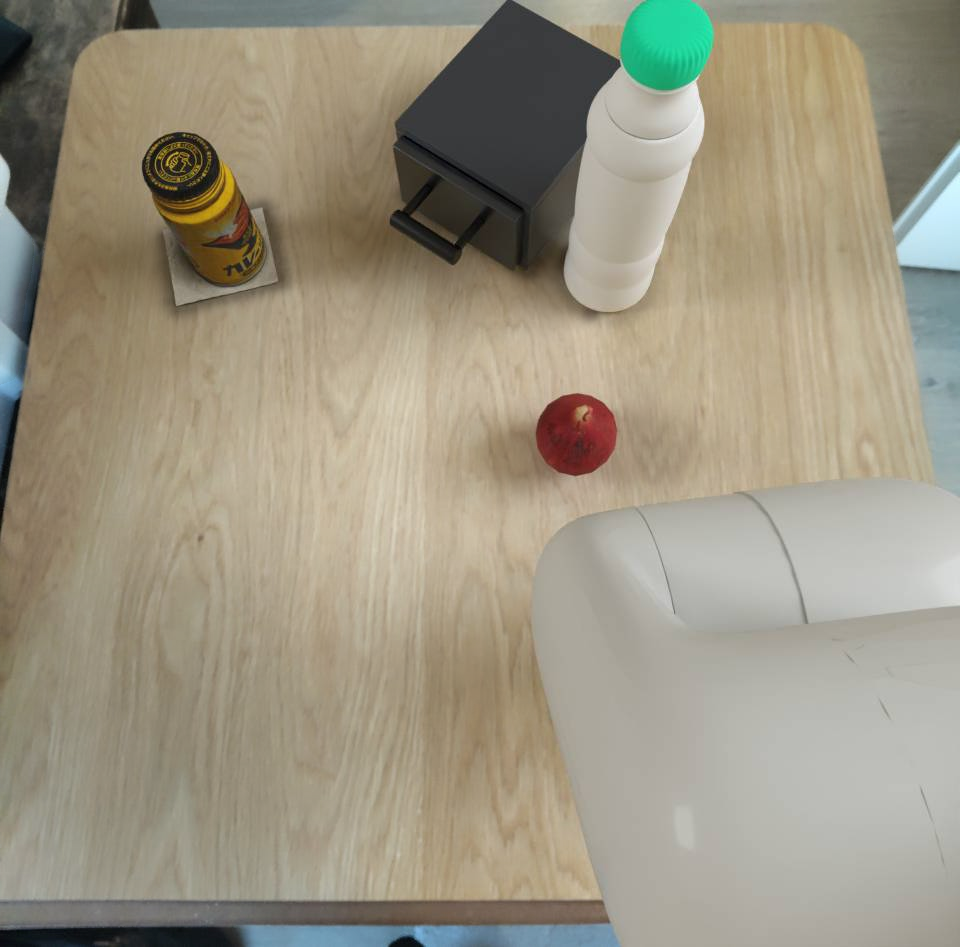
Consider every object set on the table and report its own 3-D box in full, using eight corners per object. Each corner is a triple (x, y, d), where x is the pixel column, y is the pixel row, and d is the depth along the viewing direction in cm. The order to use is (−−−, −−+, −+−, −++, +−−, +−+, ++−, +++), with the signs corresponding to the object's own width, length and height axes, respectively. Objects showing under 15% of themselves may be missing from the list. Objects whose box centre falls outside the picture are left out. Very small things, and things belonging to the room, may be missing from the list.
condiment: (279, 282, 66) (233, 190, 54) (176, 307, 65) (109, 219, 54) (263, 208, 68) (216, 105, 56) (163, 232, 67) (96, 132, 56)
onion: (602, 494, 60) (618, 461, 52) (527, 479, 60) (532, 444, 53) (614, 422, 62) (631, 380, 54) (540, 409, 62) (547, 365, 54)
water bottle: (545, 279, 65) (574, 27, 41) (600, 224, 67) (660, -51, 43) (611, 332, 64) (682, 101, 40) (667, 274, 65) (767, 18, 41)
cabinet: (527, 271, 66) (532, 207, 57) (406, 194, 68) (394, 122, 60) (625, 149, 69) (643, 72, 61) (506, 80, 71) (508, -3, 63)
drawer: (481, 310, 64) (480, 264, 57) (369, 237, 66) (356, 185, 59) (606, 157, 68) (618, 98, 61) (497, 93, 70) (497, 29, 63)
